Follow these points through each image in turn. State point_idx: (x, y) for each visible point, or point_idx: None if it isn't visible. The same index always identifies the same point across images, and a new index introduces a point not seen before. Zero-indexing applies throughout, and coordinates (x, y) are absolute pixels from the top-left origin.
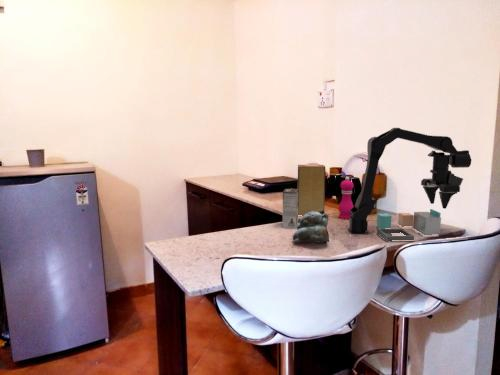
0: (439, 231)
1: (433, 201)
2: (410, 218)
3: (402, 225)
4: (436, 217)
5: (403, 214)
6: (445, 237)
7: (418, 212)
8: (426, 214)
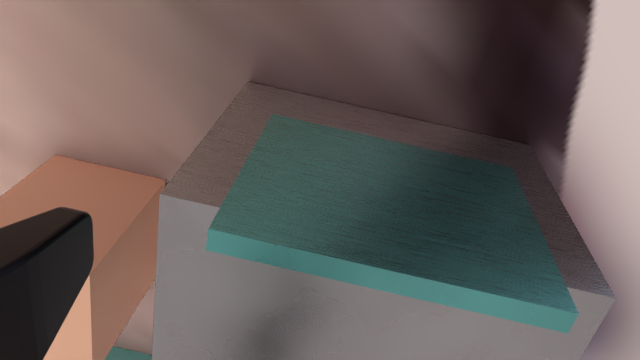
0: (544, 181)
1: (56, 261)
2: (112, 276)
3: (145, 289)
4: (571, 351)
5: (50, 353)
6: (566, 87)
7: (192, 355)
8: (340, 343)
